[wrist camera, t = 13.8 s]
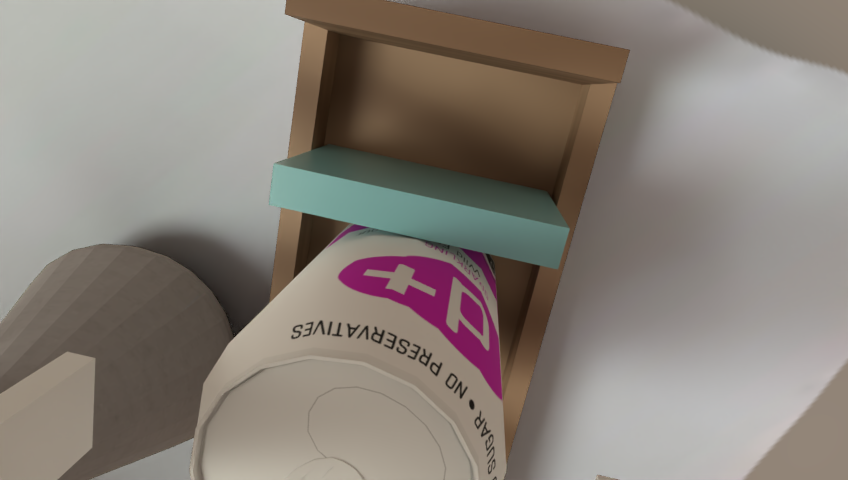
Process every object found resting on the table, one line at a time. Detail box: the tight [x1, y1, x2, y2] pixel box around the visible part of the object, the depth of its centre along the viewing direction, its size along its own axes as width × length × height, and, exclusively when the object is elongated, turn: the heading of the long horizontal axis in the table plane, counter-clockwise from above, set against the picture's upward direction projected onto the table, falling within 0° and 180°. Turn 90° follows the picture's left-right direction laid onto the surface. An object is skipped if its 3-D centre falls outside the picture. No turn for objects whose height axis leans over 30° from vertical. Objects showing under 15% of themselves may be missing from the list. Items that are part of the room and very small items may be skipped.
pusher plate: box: [269, 144, 570, 269], centre depth 22 cm, size 2×10×7 cm, turn 79°
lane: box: [269, 0, 630, 464], centre depth 24 cm, size 24×13×8 cm, turn 169°
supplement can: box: [189, 223, 507, 480], centre depth 20 cm, size 8×8×15 cm
